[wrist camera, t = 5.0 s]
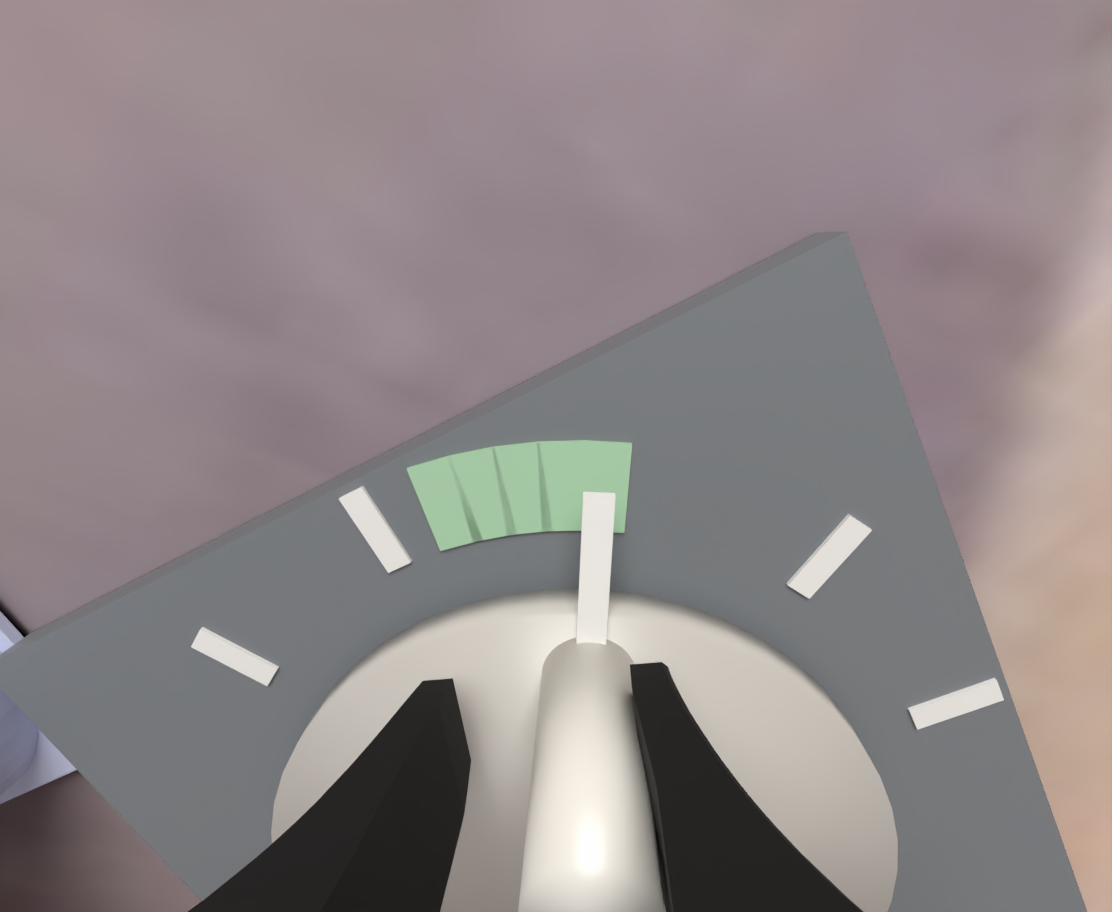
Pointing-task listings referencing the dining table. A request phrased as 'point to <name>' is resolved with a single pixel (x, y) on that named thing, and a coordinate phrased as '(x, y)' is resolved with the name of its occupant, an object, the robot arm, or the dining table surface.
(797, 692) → the beige oval dome
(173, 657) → the tuner board
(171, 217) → the dining table surface
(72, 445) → the dining table surface
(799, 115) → the dining table surface
